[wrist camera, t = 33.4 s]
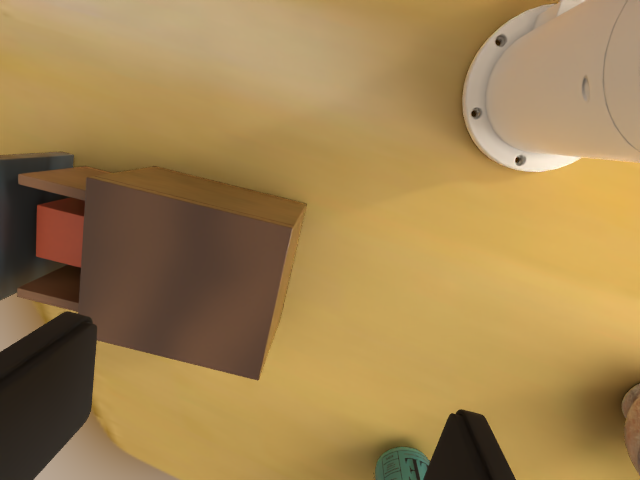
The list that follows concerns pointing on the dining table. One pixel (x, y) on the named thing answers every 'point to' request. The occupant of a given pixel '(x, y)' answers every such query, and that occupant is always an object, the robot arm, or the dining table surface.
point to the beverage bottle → (401, 464)
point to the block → (60, 231)
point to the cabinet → (187, 266)
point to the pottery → (632, 424)
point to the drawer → (21, 223)
